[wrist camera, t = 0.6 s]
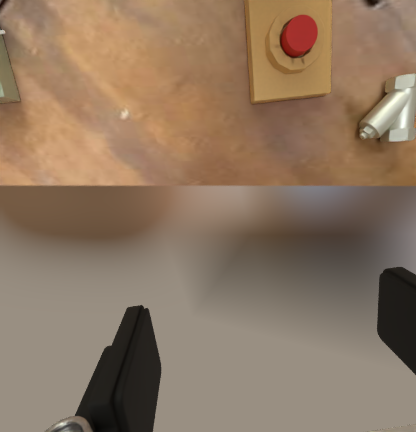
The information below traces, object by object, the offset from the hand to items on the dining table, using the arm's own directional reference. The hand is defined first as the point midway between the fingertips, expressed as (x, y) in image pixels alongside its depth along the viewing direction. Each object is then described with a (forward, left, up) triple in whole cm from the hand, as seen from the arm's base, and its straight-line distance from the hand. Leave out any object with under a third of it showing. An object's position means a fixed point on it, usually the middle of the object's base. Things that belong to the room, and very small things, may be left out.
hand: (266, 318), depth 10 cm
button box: (-18, +11, -29) cm, 36 cm away
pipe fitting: (-9, +24, -29) cm, 39 cm away
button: (-18, +11, -25) cm, 33 cm away
